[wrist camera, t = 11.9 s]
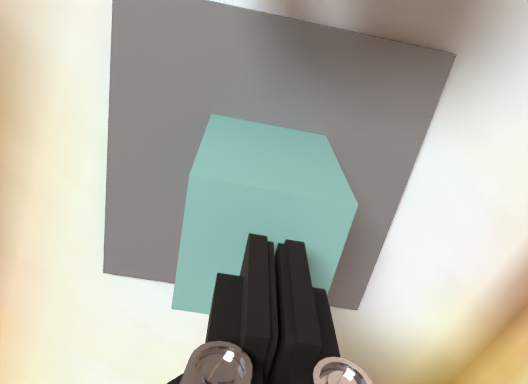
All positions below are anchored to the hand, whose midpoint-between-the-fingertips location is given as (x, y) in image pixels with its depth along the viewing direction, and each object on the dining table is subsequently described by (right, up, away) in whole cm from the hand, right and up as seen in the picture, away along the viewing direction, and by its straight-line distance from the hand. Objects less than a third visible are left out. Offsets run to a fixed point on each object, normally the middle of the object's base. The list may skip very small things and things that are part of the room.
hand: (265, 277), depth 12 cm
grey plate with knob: (0, +3, +7) cm, 8 cm away
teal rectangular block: (0, +3, +7) cm, 8 cm away
